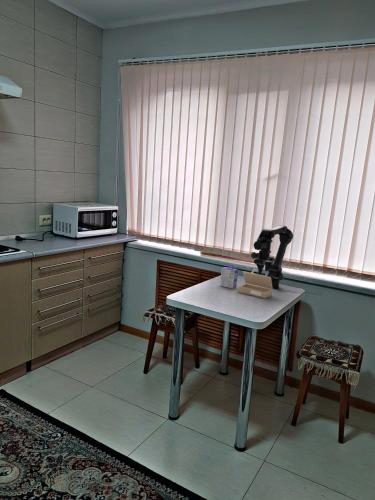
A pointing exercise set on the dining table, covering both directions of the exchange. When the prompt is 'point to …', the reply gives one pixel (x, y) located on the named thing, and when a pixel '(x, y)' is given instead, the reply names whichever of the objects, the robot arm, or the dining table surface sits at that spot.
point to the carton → (255, 291)
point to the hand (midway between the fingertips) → (262, 273)
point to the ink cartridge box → (229, 277)
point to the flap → (258, 279)
